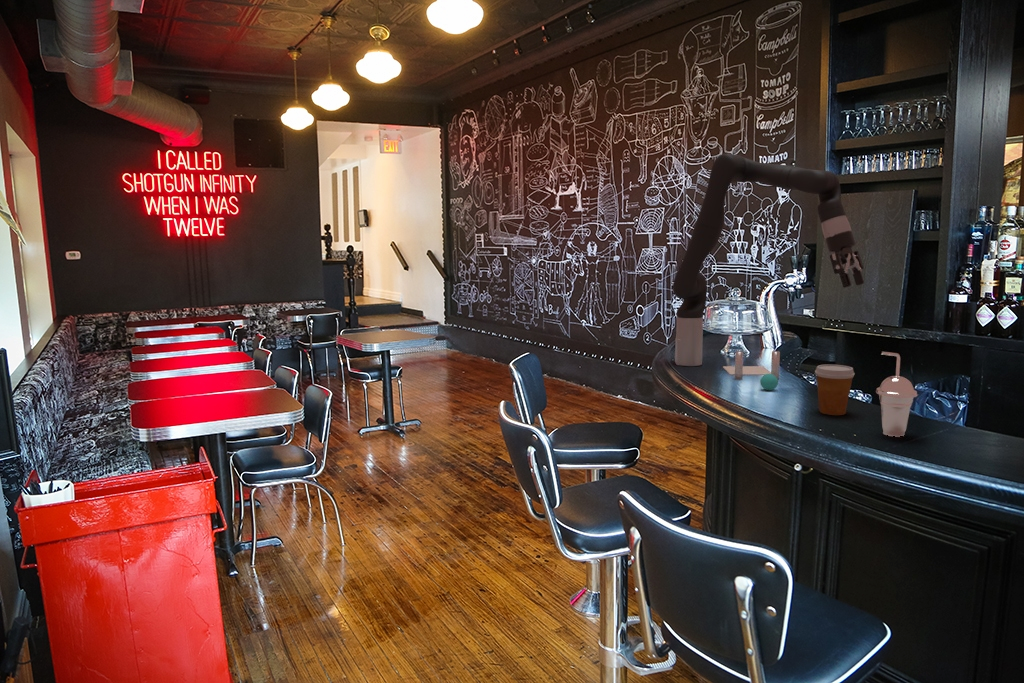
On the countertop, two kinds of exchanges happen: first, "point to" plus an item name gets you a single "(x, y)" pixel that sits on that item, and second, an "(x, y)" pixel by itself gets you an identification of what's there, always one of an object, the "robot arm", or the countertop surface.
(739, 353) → the post
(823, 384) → the disposable coffee cup
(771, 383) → the ball
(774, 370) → the post
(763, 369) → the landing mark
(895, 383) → the cup with straw
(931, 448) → the countertop surface
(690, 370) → the countertop surface
